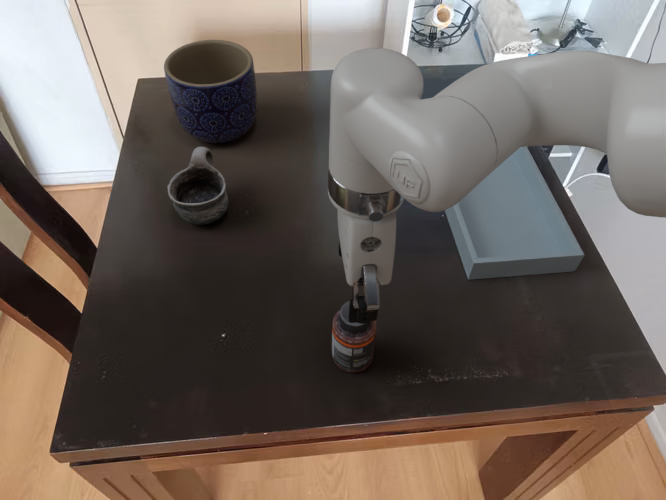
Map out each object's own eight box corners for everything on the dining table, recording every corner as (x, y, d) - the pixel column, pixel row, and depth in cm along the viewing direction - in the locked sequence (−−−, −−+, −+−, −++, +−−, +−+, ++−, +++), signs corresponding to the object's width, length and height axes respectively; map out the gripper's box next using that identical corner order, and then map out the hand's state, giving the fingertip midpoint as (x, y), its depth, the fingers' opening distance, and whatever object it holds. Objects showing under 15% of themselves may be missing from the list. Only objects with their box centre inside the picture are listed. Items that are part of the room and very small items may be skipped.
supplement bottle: (354, 330, 80) (358, 285, 71) (381, 358, 77) (389, 314, 68) (323, 353, 78) (323, 309, 69) (350, 382, 75) (353, 340, 66)
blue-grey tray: (574, 271, 88) (584, 254, 85) (468, 280, 86) (473, 263, 83) (508, 140, 110) (514, 123, 106) (422, 145, 108) (425, 128, 105)
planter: (240, 160, 104) (230, 94, 93) (164, 143, 107) (145, 76, 96) (272, 112, 115) (267, 47, 103) (202, 97, 118) (189, 32, 106)
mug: (173, 235, 92) (159, 193, 84) (178, 185, 100) (166, 142, 92) (230, 231, 92) (222, 189, 85) (231, 182, 100) (223, 139, 93)
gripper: (424, 247, 46) (400, 346, 60) (389, 123, 57) (375, 230, 70) (338, 253, 46) (333, 351, 59) (319, 126, 57) (318, 233, 70)
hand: (356, 285), depth 65 cm, fingers open, 9 cm apart
